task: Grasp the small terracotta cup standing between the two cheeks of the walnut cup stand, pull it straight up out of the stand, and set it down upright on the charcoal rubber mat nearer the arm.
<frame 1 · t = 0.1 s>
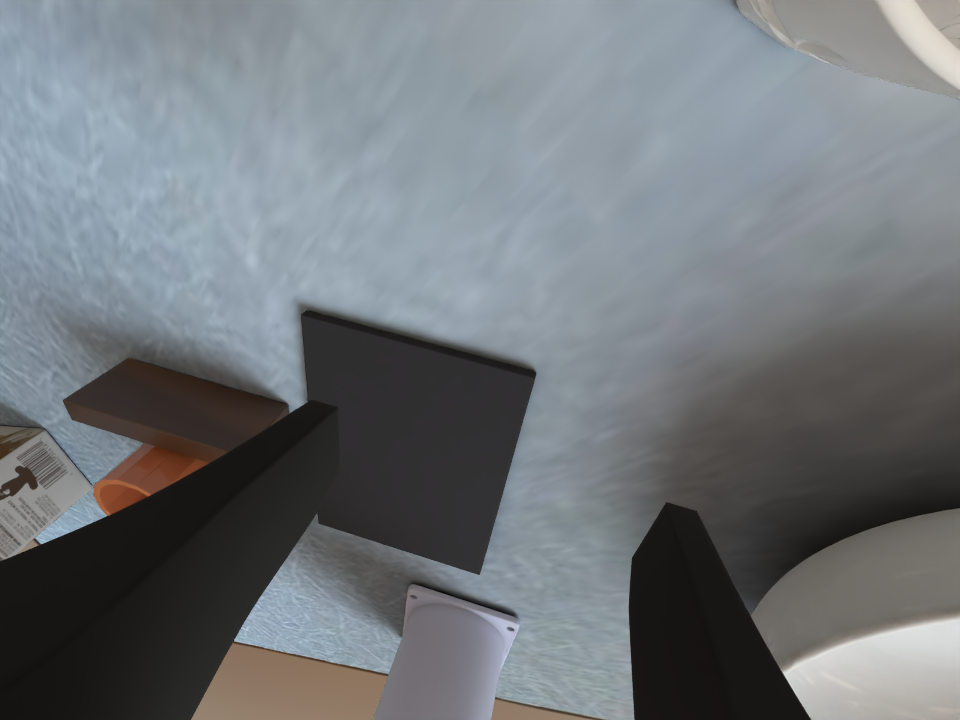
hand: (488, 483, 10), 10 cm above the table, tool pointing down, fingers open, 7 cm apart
cup: (220, 437, 29), resting in stand
coffee box: (32, 453, 36), on the table
mat: (407, 459, 26), on the table
serving bowl: (956, 589, 22), on the table
stand: (220, 437, 29), on the table
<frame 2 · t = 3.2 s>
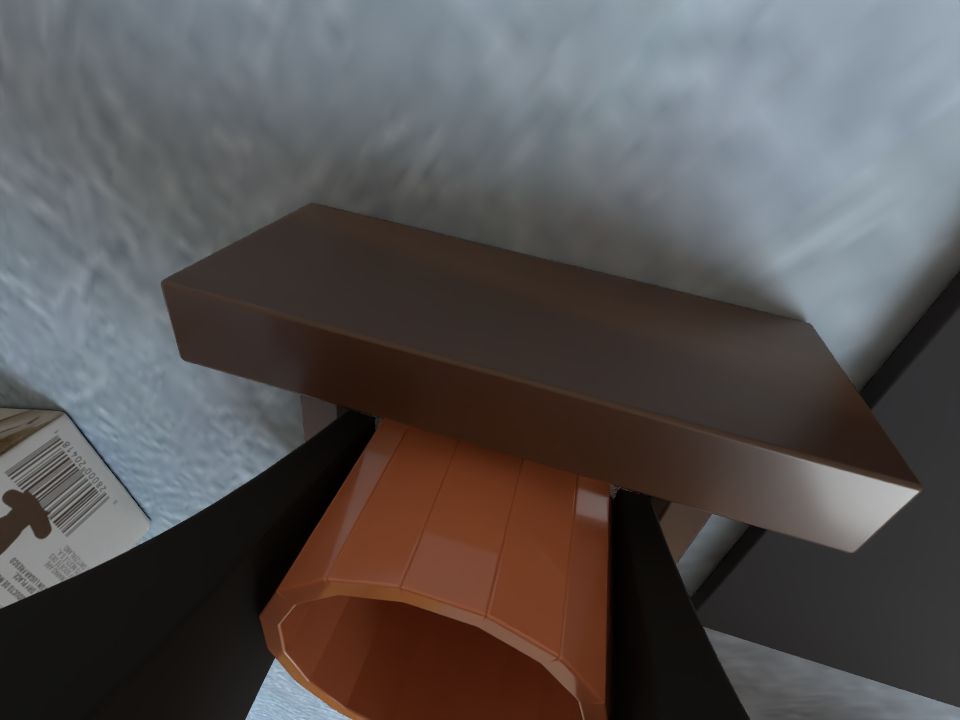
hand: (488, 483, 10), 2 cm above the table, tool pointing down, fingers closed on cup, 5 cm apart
cup: (503, 425, 12), resting in stand, touching gripper
coffee box: (38, 460, 19), on the table
stand: (504, 425, 12), on the table
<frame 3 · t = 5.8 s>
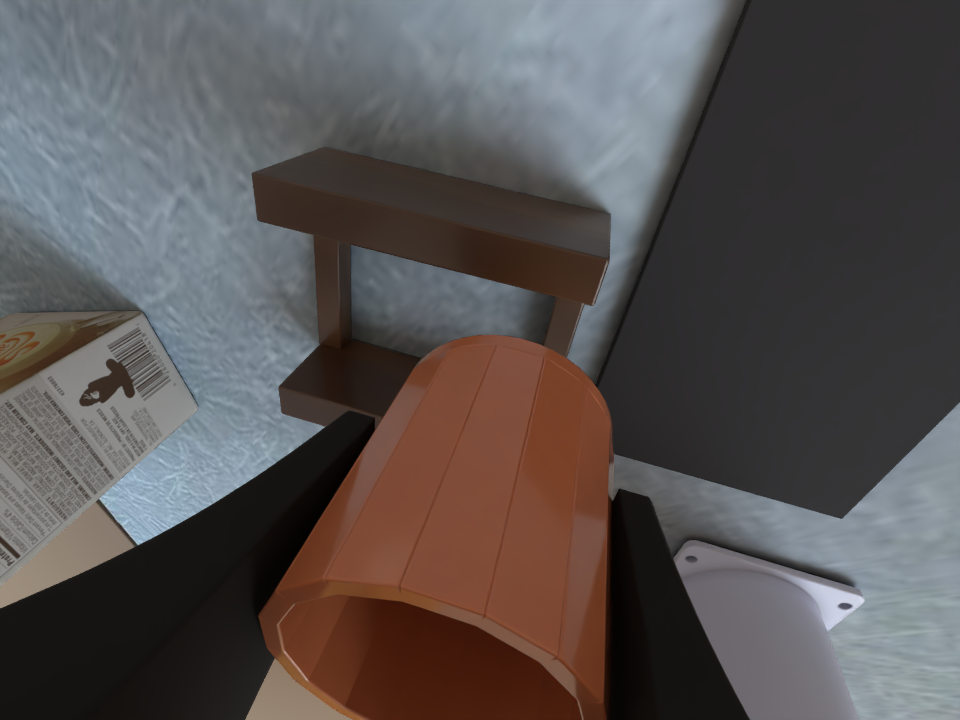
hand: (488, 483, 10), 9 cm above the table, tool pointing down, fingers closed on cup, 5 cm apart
cup: (502, 425, 12), point 7 cm above the table, touching gripper
coffee box: (113, 358, 26), on the table
mat: (809, 309, 15), on the table
stand: (447, 298, 18), on the table
when the fingers open (2 cm above the table, at t = 8.6 s): cup stays where it is, resting on mat.
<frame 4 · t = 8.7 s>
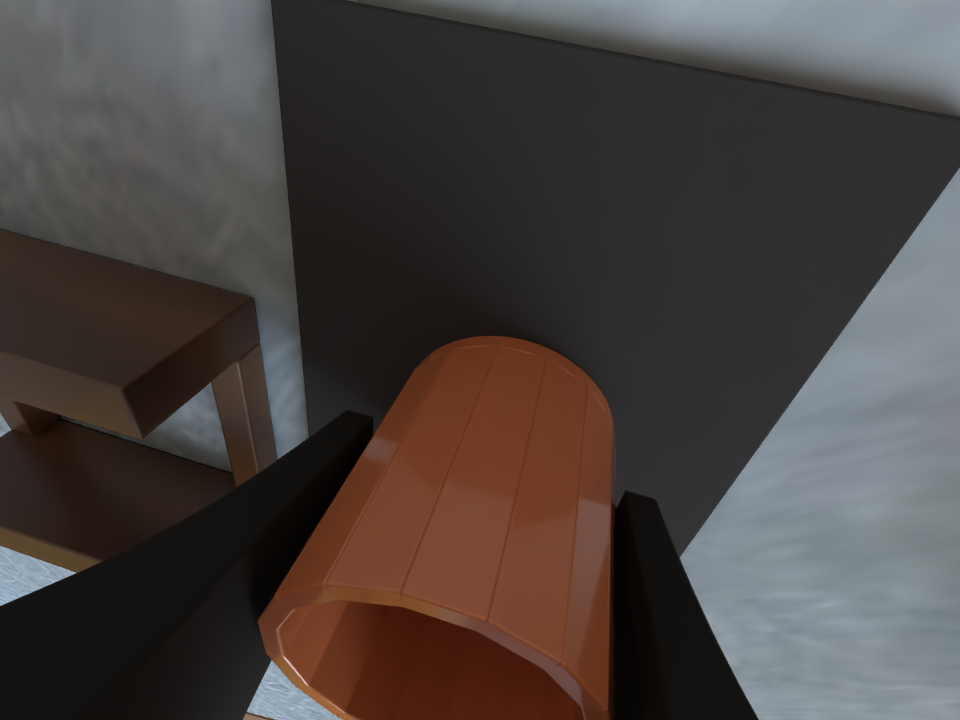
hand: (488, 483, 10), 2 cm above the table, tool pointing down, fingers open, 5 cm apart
cup: (504, 426, 12), point 1 cm above the table, touching mat
mat: (508, 415, 12), on the table
stand: (132, 382, 15), on the table
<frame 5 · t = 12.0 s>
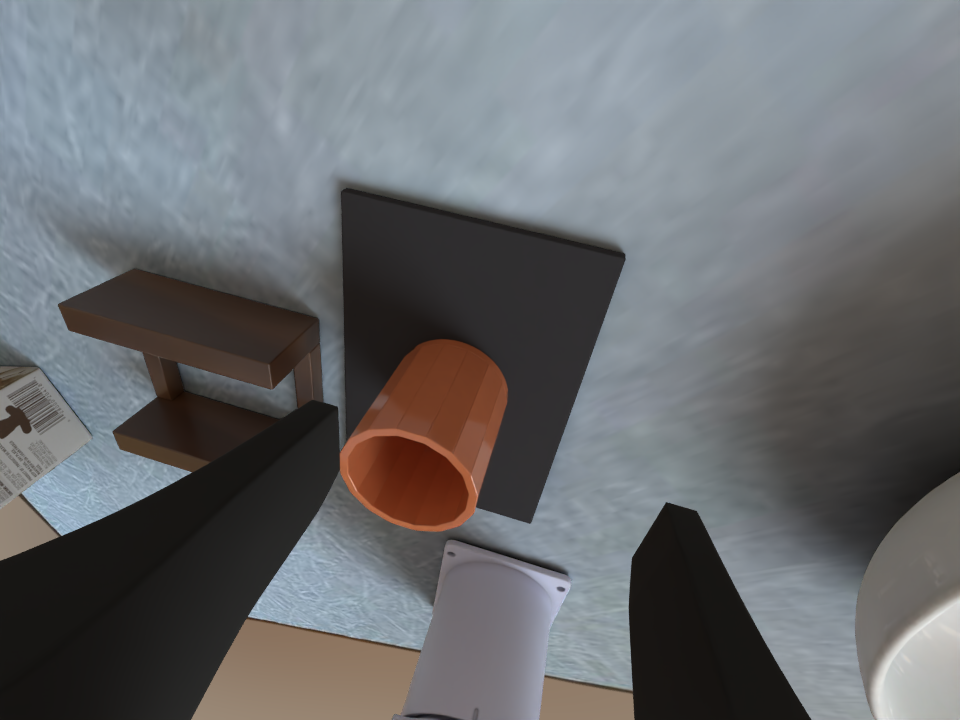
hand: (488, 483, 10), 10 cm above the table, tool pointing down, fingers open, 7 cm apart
cup: (452, 387, 22), resting on mat
coffee box: (26, 399, 33), on the table
mat: (456, 382, 22), on the table
stand: (238, 366, 25), on the table
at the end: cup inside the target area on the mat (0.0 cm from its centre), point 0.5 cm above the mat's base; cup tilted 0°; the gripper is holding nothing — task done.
